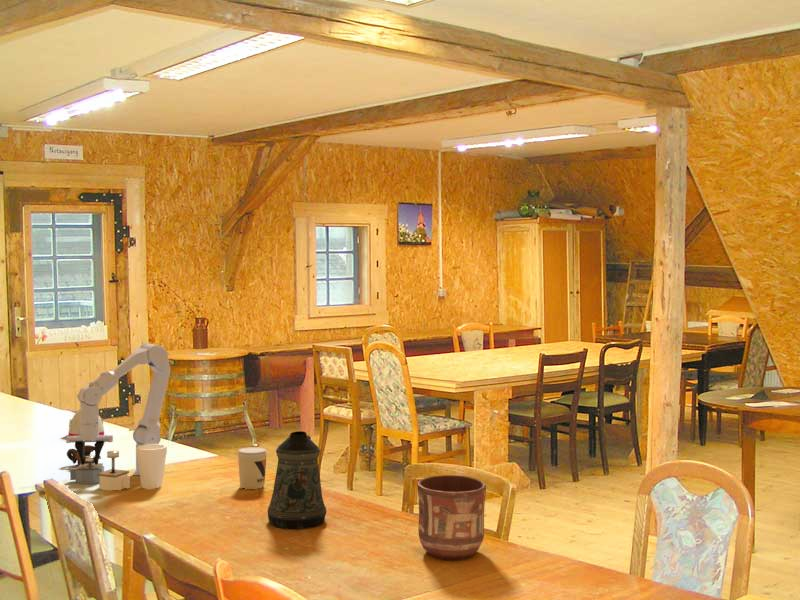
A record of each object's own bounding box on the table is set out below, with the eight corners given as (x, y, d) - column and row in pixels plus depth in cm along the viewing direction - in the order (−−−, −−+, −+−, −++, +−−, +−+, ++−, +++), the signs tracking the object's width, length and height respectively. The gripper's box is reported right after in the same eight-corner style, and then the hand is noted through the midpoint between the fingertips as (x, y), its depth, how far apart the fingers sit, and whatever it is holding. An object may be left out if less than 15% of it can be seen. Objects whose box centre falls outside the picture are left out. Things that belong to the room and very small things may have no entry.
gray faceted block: (105, 477, 318) (105, 462, 318) (101, 483, 310) (100, 468, 309) (73, 478, 317) (73, 463, 316) (68, 484, 308) (67, 469, 308)
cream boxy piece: (93, 489, 302) (93, 473, 302) (111, 483, 310) (111, 468, 310) (120, 492, 298) (120, 476, 298) (137, 486, 306) (137, 471, 306)
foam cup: (144, 492, 300) (143, 451, 299) (131, 486, 307) (131, 446, 306) (171, 487, 306) (171, 447, 305) (159, 482, 313) (159, 442, 312)
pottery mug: (102, 463, 341) (105, 446, 337) (93, 480, 333) (95, 463, 329) (69, 455, 341) (71, 437, 337) (59, 472, 332) (61, 454, 328)
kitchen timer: (96, 430, 401) (95, 395, 400) (109, 435, 391) (109, 399, 390) (63, 434, 392) (63, 398, 391) (76, 439, 382) (76, 402, 381)
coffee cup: (261, 491, 302) (261, 453, 302) (233, 489, 304) (233, 452, 303) (270, 484, 311) (270, 447, 311) (243, 482, 313) (243, 446, 313)
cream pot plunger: (104, 474, 303) (104, 452, 303) (112, 472, 307) (112, 450, 306) (114, 475, 302) (113, 453, 302) (121, 473, 305) (121, 451, 305)
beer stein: (271, 531, 258) (271, 440, 257) (262, 512, 277) (262, 427, 276) (331, 527, 263) (332, 437, 261) (318, 509, 281) (319, 425, 280)
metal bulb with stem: (96, 476, 315) (96, 455, 315) (94, 479, 312) (94, 457, 311) (85, 477, 315) (85, 455, 314) (83, 479, 311) (83, 458, 311)
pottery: (401, 552, 242) (402, 482, 241) (447, 538, 254) (449, 471, 253) (452, 569, 229) (454, 496, 228) (499, 554, 241) (500, 483, 240)
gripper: (114, 420, 317) (114, 460, 318) (69, 421, 315) (69, 461, 316) (111, 424, 310) (111, 465, 311) (64, 425, 308) (65, 466, 309)
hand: (89, 464), depth 313 cm, fingers closed on metal bulb with stem, 4 cm apart
